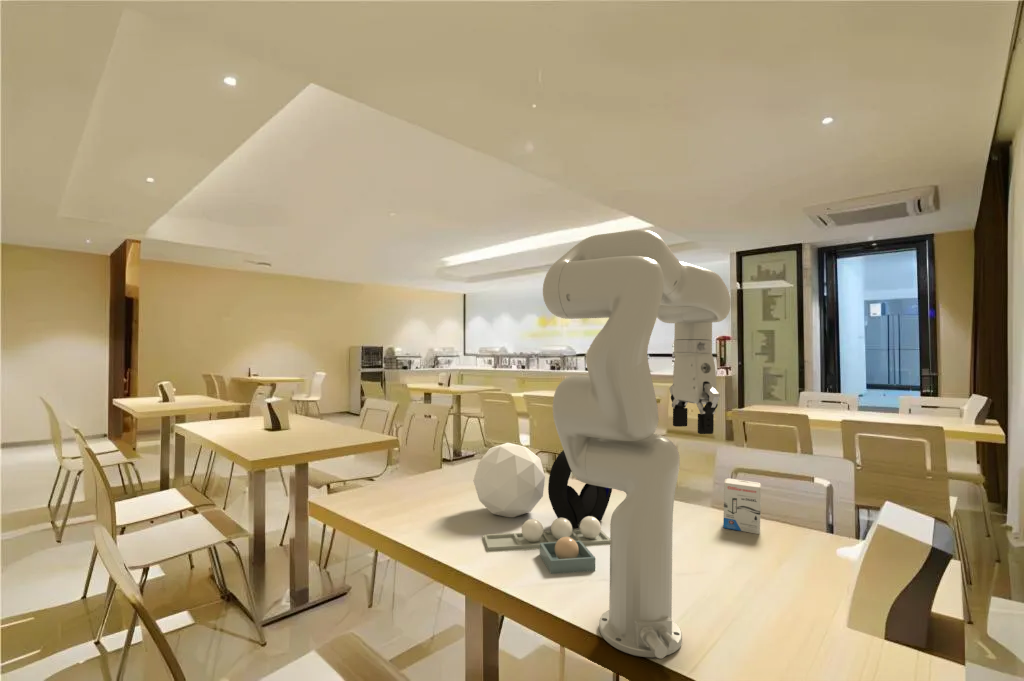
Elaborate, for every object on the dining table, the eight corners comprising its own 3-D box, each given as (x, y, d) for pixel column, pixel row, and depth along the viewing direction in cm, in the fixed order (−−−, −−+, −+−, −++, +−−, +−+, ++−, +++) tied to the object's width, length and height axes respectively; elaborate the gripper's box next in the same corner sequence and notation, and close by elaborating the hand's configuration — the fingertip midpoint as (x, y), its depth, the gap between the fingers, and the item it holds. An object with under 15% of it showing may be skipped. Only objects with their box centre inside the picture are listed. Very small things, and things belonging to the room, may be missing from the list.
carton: (613, 546, 112) (613, 541, 112) (487, 554, 106) (487, 548, 106) (599, 532, 121) (599, 527, 121) (481, 538, 115) (482, 533, 115)
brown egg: (582, 565, 100) (582, 540, 100) (558, 567, 99) (558, 542, 99) (574, 556, 105) (574, 532, 105) (551, 558, 104) (551, 534, 104)
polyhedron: (489, 540, 132) (449, 476, 136) (538, 500, 145) (501, 443, 149) (520, 524, 118) (475, 454, 122) (572, 482, 131) (530, 419, 135)
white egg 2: (575, 543, 112) (575, 521, 112) (554, 544, 111) (554, 522, 111) (568, 535, 117) (568, 514, 117) (548, 536, 116) (548, 515, 116)
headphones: (564, 535, 118) (565, 452, 119) (545, 527, 123) (547, 447, 124) (614, 520, 130) (615, 444, 130) (595, 513, 135) (596, 440, 135)
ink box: (722, 528, 125) (723, 482, 125) (724, 522, 130) (724, 477, 130) (760, 534, 121) (760, 486, 121) (760, 528, 126) (761, 482, 126)
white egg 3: (604, 541, 114) (604, 519, 114) (583, 542, 113) (583, 520, 113) (596, 533, 119) (596, 512, 119) (576, 534, 118) (576, 513, 118)
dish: (595, 573, 98) (595, 558, 98) (550, 576, 97) (551, 560, 97) (580, 554, 107) (580, 540, 107) (539, 556, 106) (539, 542, 106)
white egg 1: (545, 544, 111) (545, 522, 111) (523, 546, 110) (524, 523, 110) (540, 536, 116) (540, 515, 116) (519, 537, 115) (519, 516, 115)
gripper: (734, 349, 96) (734, 436, 96) (687, 349, 113) (686, 423, 113) (699, 348, 95) (699, 437, 94) (657, 348, 112) (656, 424, 111)
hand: (692, 429), depth 104 cm, fingers open, 9 cm apart
